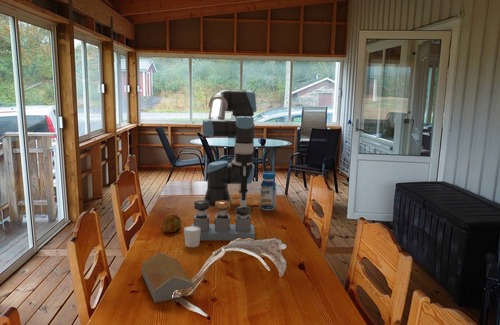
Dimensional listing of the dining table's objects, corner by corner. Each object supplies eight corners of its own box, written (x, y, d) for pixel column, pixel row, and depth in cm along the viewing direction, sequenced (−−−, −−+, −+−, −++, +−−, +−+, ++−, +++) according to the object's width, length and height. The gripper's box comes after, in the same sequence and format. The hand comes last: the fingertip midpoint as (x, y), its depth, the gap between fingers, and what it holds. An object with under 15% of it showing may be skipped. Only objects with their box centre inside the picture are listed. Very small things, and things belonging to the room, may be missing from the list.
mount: (191, 230, 176) (191, 212, 174) (253, 230, 177) (253, 212, 176) (188, 240, 164) (188, 220, 163) (255, 240, 165) (255, 221, 164)
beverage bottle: (278, 209, 212) (279, 173, 209) (266, 211, 207) (267, 174, 204) (269, 205, 219) (270, 170, 216) (257, 207, 214) (257, 172, 211)
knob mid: (215, 216, 172) (215, 200, 171) (229, 216, 173) (230, 200, 171) (214, 221, 166) (214, 204, 165) (229, 221, 166) (230, 204, 165)
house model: (194, 295, 119) (194, 272, 118) (153, 304, 114) (152, 280, 113) (177, 269, 137) (177, 249, 136) (141, 275, 132) (140, 254, 130)
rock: (160, 238, 177) (162, 218, 183) (178, 240, 179) (180, 220, 185) (162, 228, 168) (165, 207, 174) (182, 230, 170) (183, 209, 176)
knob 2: (235, 221, 173) (235, 205, 172) (249, 221, 174) (250, 205, 172) (235, 225, 167) (236, 209, 166) (250, 225, 167) (251, 209, 166)
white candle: (194, 240, 164) (194, 224, 163) (204, 245, 159) (204, 228, 158) (180, 244, 159) (180, 228, 158) (190, 249, 154) (190, 232, 153)
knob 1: (194, 216, 172) (194, 200, 171) (209, 216, 172) (209, 200, 171) (193, 221, 166) (193, 204, 164) (208, 221, 166) (208, 204, 165)
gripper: (235, 150, 171) (234, 202, 175) (235, 154, 158) (234, 210, 162) (252, 151, 172) (251, 202, 175) (254, 155, 159) (252, 211, 163)
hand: (243, 206), depth 169 cm, fingers closed
